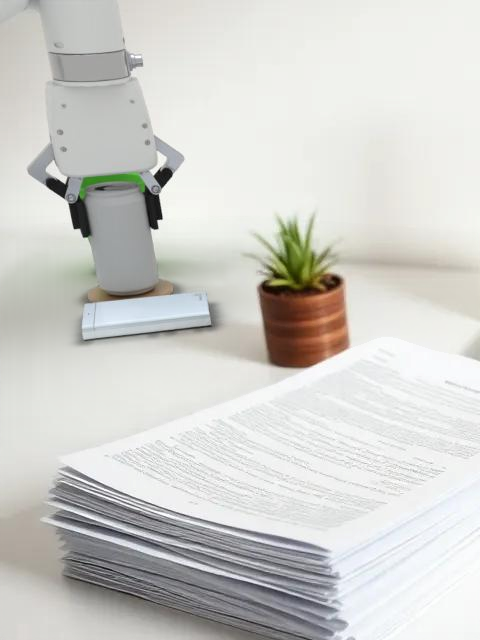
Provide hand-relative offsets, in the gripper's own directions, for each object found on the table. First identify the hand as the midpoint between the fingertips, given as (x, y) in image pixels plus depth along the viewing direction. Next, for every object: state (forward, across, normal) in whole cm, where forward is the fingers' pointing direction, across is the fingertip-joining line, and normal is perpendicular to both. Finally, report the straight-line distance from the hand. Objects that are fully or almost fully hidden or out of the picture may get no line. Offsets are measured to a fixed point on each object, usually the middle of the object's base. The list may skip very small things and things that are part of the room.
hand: (119, 229), depth 127 cm
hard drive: (+8, 0, +10) cm, 13 cm away
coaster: (+8, 0, 0) cm, 8 cm away
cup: (+8, 0, -10) cm, 13 cm away
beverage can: (+7, 0, 0) cm, 7 cm away
